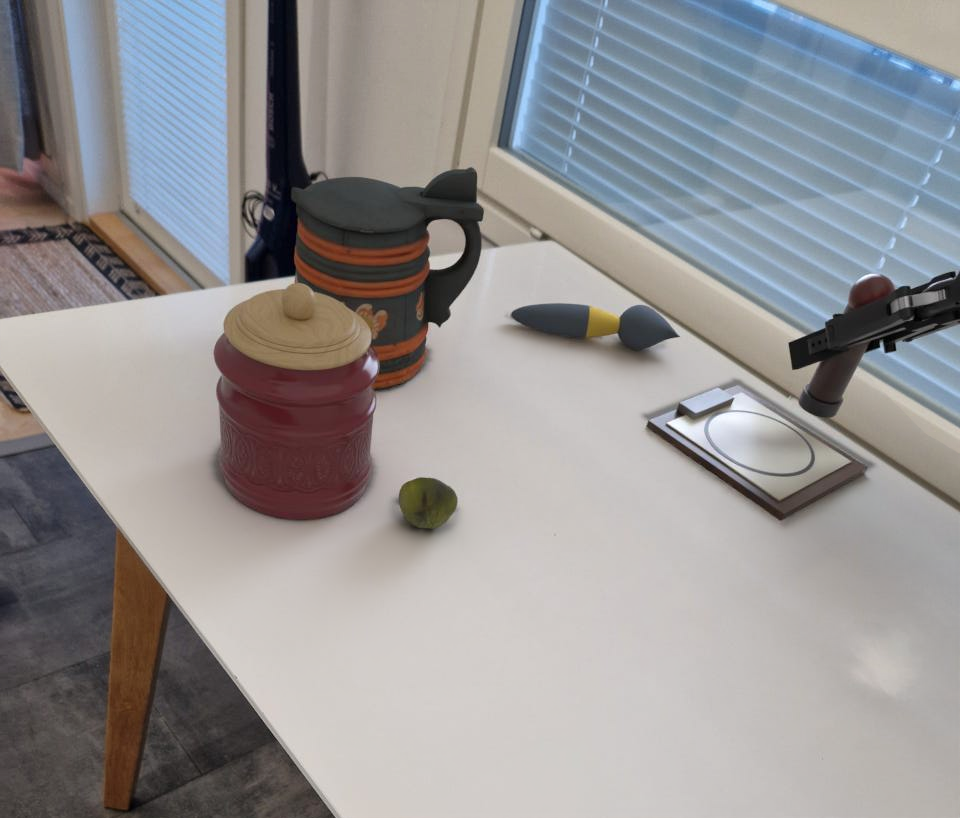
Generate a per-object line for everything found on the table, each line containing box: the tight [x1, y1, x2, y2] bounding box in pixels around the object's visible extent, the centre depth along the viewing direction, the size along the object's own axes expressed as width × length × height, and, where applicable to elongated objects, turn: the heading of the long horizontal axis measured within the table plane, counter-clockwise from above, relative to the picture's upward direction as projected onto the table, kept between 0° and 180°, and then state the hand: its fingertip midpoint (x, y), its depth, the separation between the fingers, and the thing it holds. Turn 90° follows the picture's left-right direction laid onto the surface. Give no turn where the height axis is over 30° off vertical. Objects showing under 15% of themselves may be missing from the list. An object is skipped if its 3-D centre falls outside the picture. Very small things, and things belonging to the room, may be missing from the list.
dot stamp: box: [797, 273, 896, 419], centre depth 86 cm, size 4×4×14 cm
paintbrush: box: [510, 302, 681, 351], centre depth 105 cm, size 20×5×5 cm, turn 91°
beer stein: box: [290, 166, 485, 390], centre depth 89 cm, size 19×15×20 cm
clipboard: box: [645, 384, 869, 521], centre depth 95 cm, size 18×16×2 cm
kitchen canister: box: [213, 283, 380, 520], centre depth 74 cm, size 13×13×18 cm
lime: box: [398, 476, 459, 529], centre depth 76 cm, size 4×5×5 cm
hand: (808, 354), depth 90 cm, fingers closed on dot stamp, 3 cm apart
